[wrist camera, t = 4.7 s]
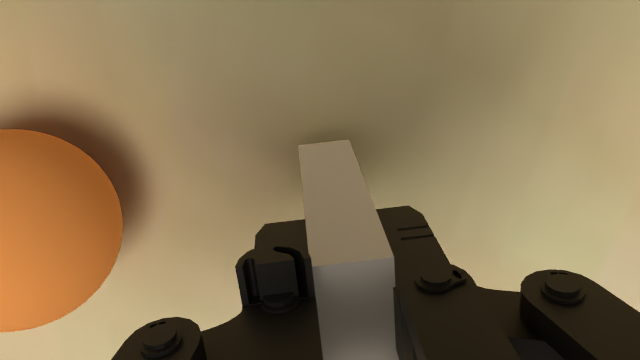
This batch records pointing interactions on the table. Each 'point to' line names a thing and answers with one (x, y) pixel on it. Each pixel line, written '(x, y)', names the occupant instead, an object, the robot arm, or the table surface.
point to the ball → (52, 228)
